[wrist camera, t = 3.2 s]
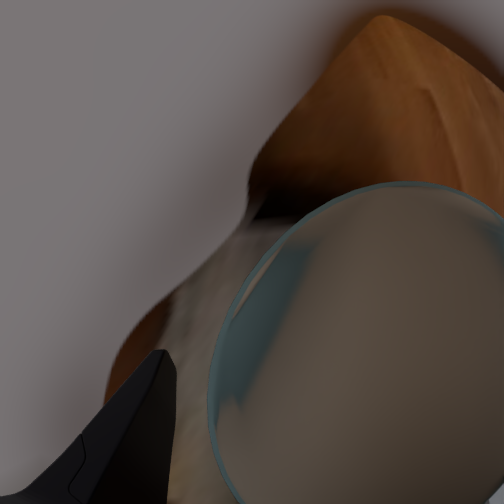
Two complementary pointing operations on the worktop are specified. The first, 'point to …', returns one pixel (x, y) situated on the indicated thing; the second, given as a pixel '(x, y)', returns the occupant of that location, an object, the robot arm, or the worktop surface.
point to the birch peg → (367, 356)
